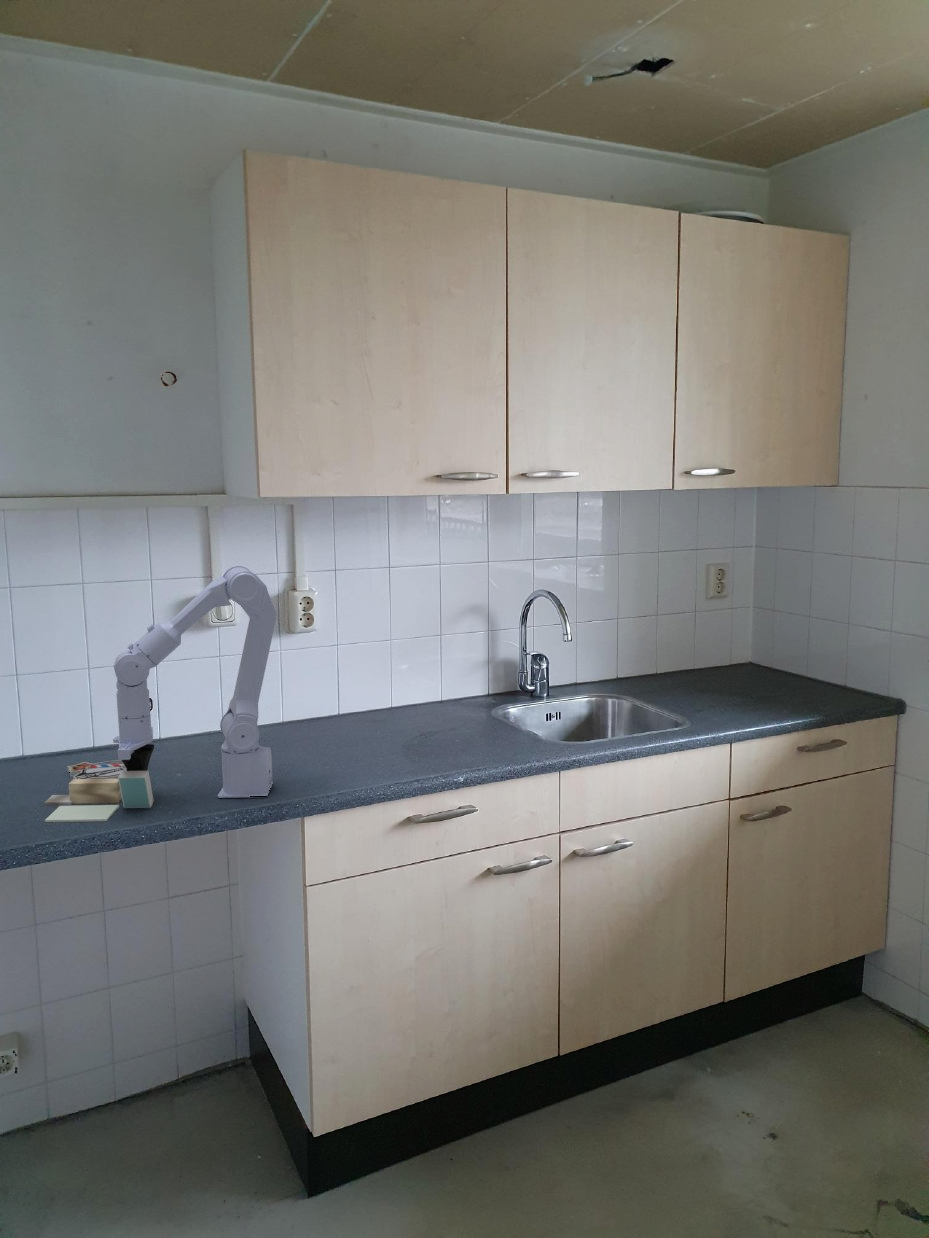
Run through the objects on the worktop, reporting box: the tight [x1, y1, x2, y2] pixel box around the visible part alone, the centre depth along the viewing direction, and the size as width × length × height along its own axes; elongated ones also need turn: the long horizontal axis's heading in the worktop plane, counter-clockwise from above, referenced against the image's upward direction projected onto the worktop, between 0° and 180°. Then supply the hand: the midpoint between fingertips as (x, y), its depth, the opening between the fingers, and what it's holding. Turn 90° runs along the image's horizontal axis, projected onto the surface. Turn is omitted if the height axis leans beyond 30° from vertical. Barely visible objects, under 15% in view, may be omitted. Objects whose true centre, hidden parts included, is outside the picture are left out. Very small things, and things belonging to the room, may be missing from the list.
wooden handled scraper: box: [43, 779, 122, 806], centre depth 178 cm, size 14×4×4 cm, turn 92°
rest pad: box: [44, 804, 120, 823], centre depth 172 cm, size 11×7×1 cm, turn 92°
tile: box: [118, 770, 154, 809], centre depth 174 cm, size 5×2×7 cm, turn 92°
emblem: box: [66, 759, 149, 780], centre depth 194 cm, size 12×2×15 cm
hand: (138, 784), depth 176 cm, fingers closed
